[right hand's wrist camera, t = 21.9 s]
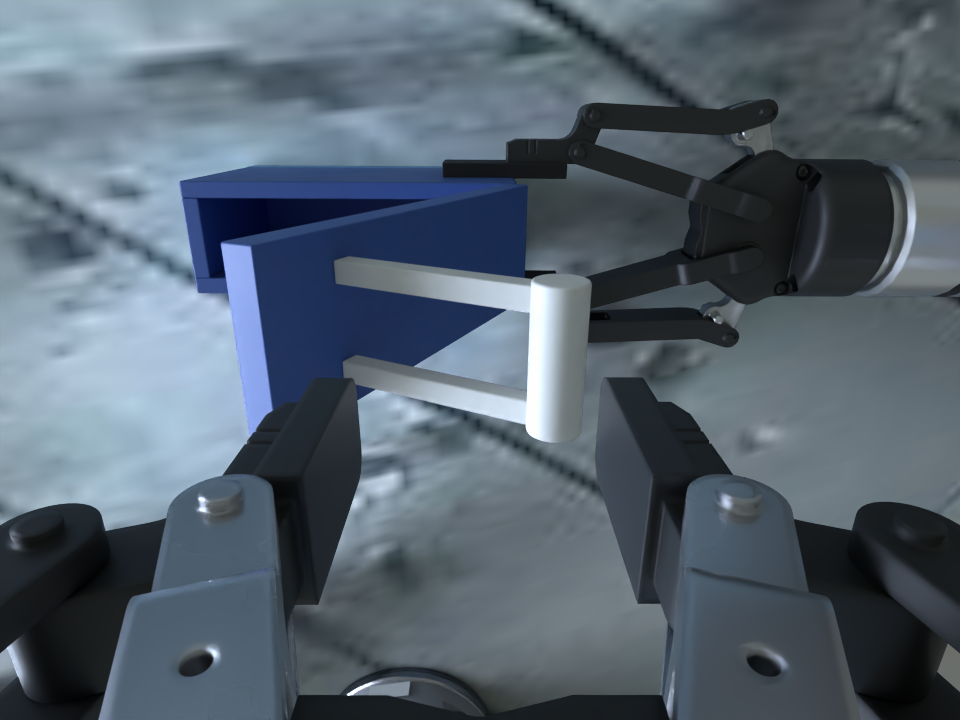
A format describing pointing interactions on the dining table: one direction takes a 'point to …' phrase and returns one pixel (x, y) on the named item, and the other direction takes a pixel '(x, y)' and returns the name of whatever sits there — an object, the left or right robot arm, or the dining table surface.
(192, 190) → the chest
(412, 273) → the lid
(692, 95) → the dining table surface
